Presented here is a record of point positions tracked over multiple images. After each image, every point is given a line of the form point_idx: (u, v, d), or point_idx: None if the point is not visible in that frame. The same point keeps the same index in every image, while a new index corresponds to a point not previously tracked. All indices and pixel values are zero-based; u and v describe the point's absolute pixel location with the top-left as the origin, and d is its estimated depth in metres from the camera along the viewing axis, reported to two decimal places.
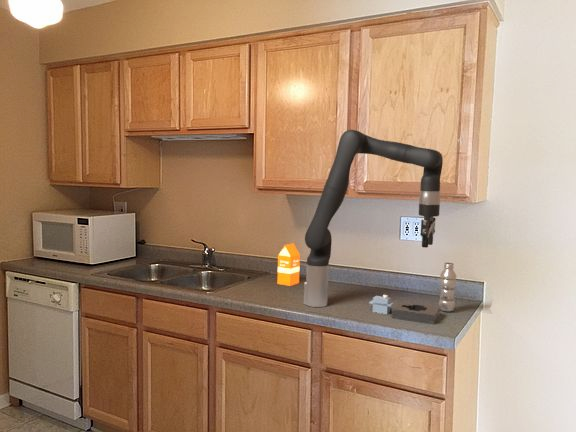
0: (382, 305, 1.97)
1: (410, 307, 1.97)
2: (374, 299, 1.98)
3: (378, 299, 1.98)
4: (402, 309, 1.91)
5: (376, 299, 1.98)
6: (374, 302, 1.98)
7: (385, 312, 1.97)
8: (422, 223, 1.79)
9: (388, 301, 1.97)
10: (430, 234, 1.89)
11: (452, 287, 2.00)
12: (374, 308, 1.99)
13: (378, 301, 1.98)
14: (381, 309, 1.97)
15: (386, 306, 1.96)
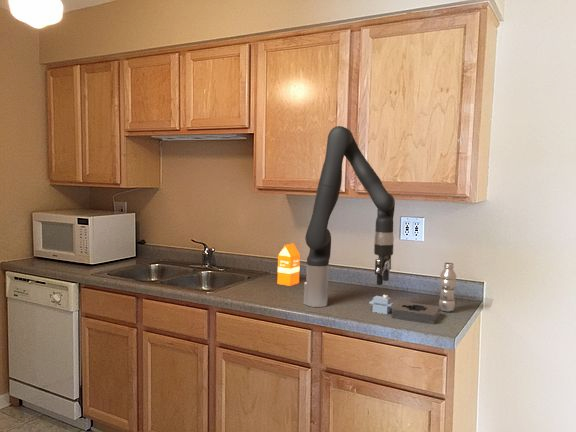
0: (382, 305, 1.97)
1: (410, 307, 1.97)
2: (374, 299, 1.98)
3: (378, 299, 1.98)
4: (402, 309, 1.91)
5: (376, 299, 1.98)
6: (374, 302, 1.98)
7: (385, 312, 1.97)
8: (376, 263, 1.92)
9: (388, 301, 1.97)
10: (386, 271, 2.02)
11: (452, 287, 2.00)
12: (374, 308, 1.99)
13: (378, 301, 1.98)
14: (381, 309, 1.97)
15: (386, 306, 1.96)
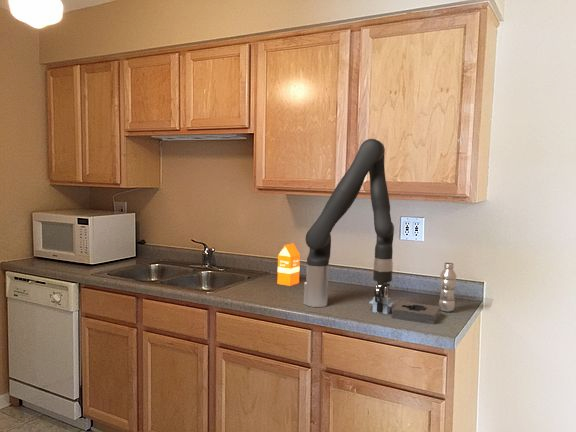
0: None
1: (410, 307, 1.97)
2: (374, 299, 1.98)
3: None
4: (402, 309, 1.91)
5: None
6: (374, 302, 1.98)
7: (385, 312, 1.97)
8: (375, 292, 1.93)
9: (388, 301, 1.97)
10: None
11: (452, 287, 2.00)
12: (374, 308, 1.99)
13: None
14: None
15: (386, 306, 1.96)
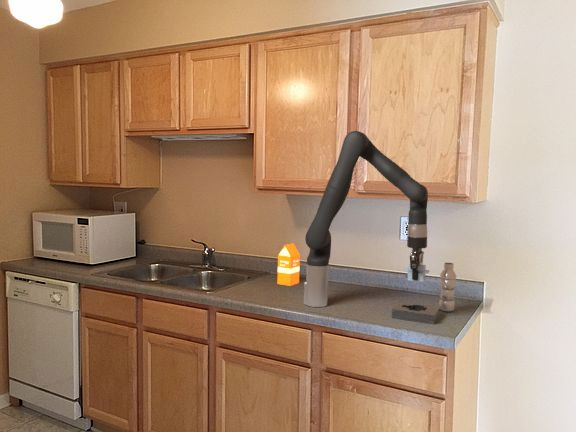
0: (418, 272, 1.91)
1: (410, 307, 1.97)
2: (409, 267, 1.92)
3: None
4: (402, 309, 1.91)
5: None
6: (409, 269, 1.92)
7: (421, 279, 1.90)
8: (411, 259, 1.87)
9: (424, 268, 1.91)
10: None
11: (452, 287, 2.00)
12: (409, 276, 1.92)
13: None
14: None
15: (422, 273, 1.90)
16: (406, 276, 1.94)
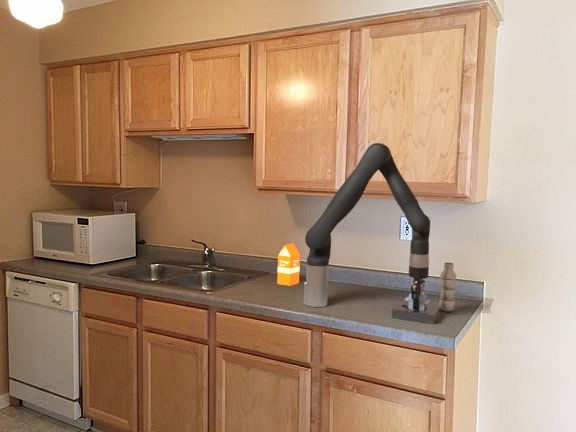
0: None
1: None
2: (410, 296, 1.93)
3: None
4: (402, 309, 1.91)
5: None
6: (410, 299, 1.93)
7: (422, 309, 1.91)
8: (412, 289, 1.88)
9: (425, 298, 1.91)
10: None
11: (452, 287, 2.00)
12: (410, 305, 1.93)
13: None
14: None
15: (423, 303, 1.90)
16: (407, 305, 1.95)
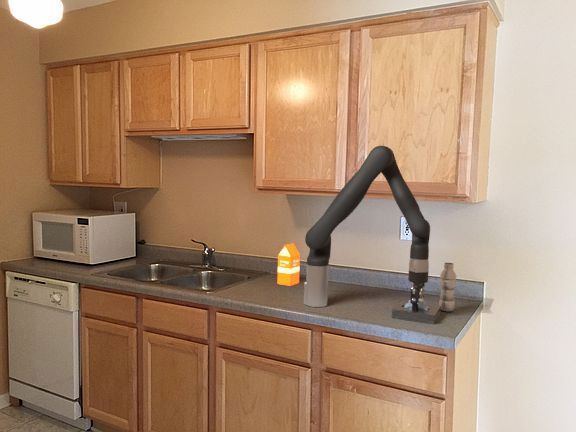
0: (418, 309, 1.91)
1: None
2: (409, 303, 1.93)
3: None
4: (402, 309, 1.91)
5: (411, 303, 1.92)
6: (409, 305, 1.93)
7: None
8: (411, 292, 1.87)
9: (424, 305, 1.92)
10: None
11: (452, 287, 2.00)
12: None
13: None
14: None
15: None
16: None
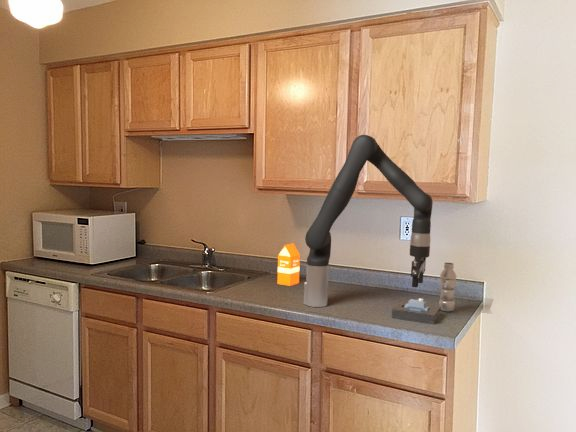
0: (418, 309, 1.91)
1: None
2: (409, 303, 1.93)
3: (414, 303, 1.92)
4: (402, 309, 1.91)
5: (411, 303, 1.92)
6: (409, 305, 1.93)
7: None
8: (412, 264, 1.86)
9: (424, 305, 1.92)
10: (420, 273, 1.96)
11: (452, 287, 2.00)
12: None
13: (414, 305, 1.92)
14: None
15: None
16: None
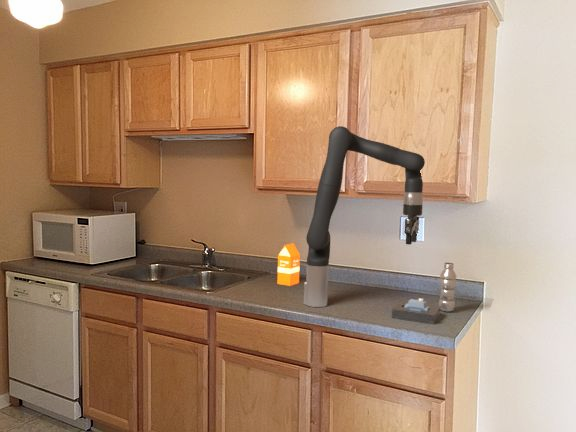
0: (418, 309, 1.91)
1: None
2: (409, 303, 1.93)
3: (414, 303, 1.92)
4: (402, 309, 1.91)
5: (411, 303, 1.92)
6: (409, 305, 1.93)
7: None
8: (406, 222, 1.94)
9: (424, 305, 1.92)
10: (414, 232, 2.03)
11: (452, 287, 2.00)
12: None
13: (414, 305, 1.92)
14: None
15: None
16: None
